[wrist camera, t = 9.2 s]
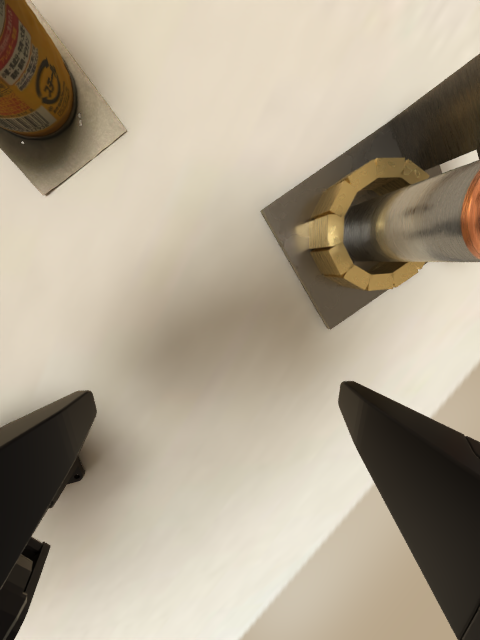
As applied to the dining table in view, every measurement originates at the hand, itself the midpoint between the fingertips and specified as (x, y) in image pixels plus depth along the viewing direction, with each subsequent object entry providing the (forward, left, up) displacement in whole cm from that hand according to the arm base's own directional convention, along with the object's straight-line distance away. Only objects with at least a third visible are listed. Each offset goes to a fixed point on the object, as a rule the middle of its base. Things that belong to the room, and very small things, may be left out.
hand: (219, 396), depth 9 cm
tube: (+14, +4, -12) cm, 19 cm away
